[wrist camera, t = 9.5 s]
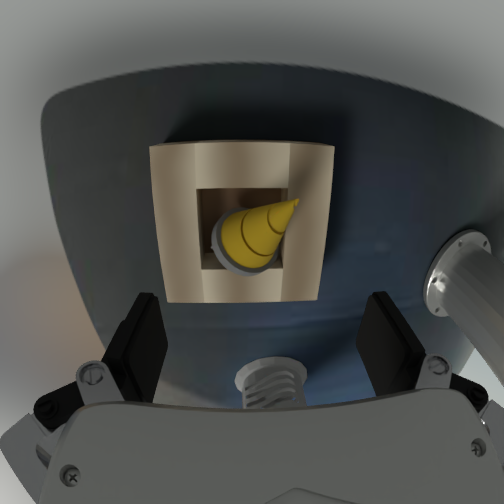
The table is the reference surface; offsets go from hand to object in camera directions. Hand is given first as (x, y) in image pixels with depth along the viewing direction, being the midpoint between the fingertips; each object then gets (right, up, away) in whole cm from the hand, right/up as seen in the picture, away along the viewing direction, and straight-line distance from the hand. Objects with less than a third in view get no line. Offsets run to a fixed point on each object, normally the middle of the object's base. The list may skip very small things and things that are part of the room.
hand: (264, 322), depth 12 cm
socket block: (-1, +6, +12) cm, 14 cm away
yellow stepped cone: (-1, +6, +12) cm, 13 cm away
